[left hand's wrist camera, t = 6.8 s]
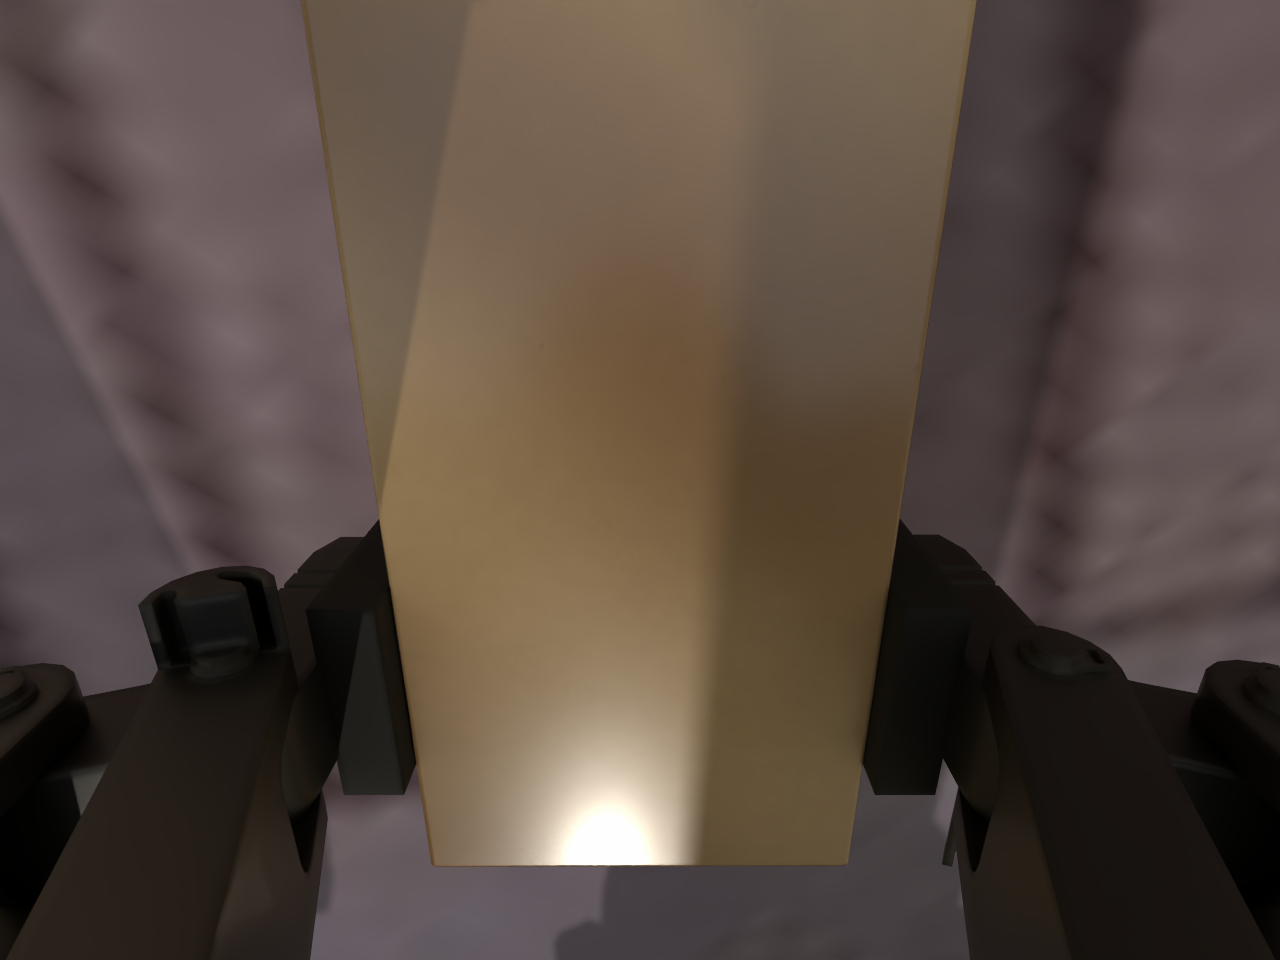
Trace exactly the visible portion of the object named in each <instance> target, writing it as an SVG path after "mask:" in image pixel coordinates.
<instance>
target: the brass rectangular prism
mask: <svg viewBox="0 0 1280 960" xmlns="http://www.w3.org/2000/svg"><path fill="white" fill-rule="evenodd" d="M976 3H977V0H301V6H302V12H303V19H304V25H305V32H306V39H307V45H308V52H309V58H310V65H311V72H312V78H313V85H314V91H315V98H316V105H317V111H318V118H319V124H320V131H321V138H322V144H323V151H324V157H325V164H326V171H327V177H328V184H329V190H330V197H331V204H332V210H333V217H334V223H335V230H336V237H337V243H338V250H339V256H340V263H341V270H342V276H343V283H344V289H345V296H346V303H347V309H348V316H349V322H350V329H351V336H352V342H353V349H354V355H355V362H356V369H357V375H358V382H359V388H360V395H361V402H362V408H363V415H364V421H365V428H366V435H367V441H368V448H369V454H370V461H371V468H372V474H373V481H374V487H375V494H376V501H377V507H378V514H379V520H380V527H381V534H382V540H383V547H384V553H385V560H386V567H387V573H388V580H389V586H390V593H391V600H392V606H393V613H394V619H395V626H396V633H397V639H398V646H399V652H400V659H401V666H402V672H403V679H404V685H405V692H406V699H407V705H408V712H409V718H410V725H411V732H412V738H413V745H414V751H415V758H416V765H417V771H418V778H419V784H420V791H421V798H422V804H423V811H424V817H425V824H426V831H427V837H428V844H429V850H430V857H431V863H432V865H433V866H436V867H554V866H843V865H846V864H847V863H848V859H849V853H850V846H851V839H852V833H853V826H854V819H855V813H856V806H857V799H858V792H859V786H860V779H861V772H862V766H863V759H864V752H865V746H866V739H867V732H868V726H869V719H870V712H871V705H872V699H873V692H874V685H875V679H876V672H877V665H878V659H879V652H880V645H881V638H882V632H883V625H884V618H885V612H886V605H887V598H888V592H889V585H890V578H891V572H892V565H893V558H894V552H895V545H896V538H897V531H898V525H899V518H900V511H901V505H902V498H903V491H904V485H905V478H906V471H907V464H908V458H909V451H910V444H911V438H912V431H913V424H914V418H915V411H916V404H917V398H918V391H919V384H920V377H921V371H922V364H923V357H924V351H925V344H926V337H927V331H928V324H929V317H930V311H931V304H932V297H933V290H934V284H935V277H936V270H937V264H938V257H939V250H940V244H941V237H942V230H943V224H944V217H945V210H946V203H947V197H948V190H949V183H950V177H951V170H952V163H953V157H954V150H955V143H956V137H957V130H958V123H959V116H960V110H961V103H962V96H963V90H964V83H965V76H966V70H967V63H968V56H969V50H970V43H971V36H972V29H973V23H974V16H975V9H976Z"/></svg>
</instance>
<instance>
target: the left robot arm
mask: <svg viewBox="0 0 1280 960" xmlns="http://www.w3.org/2000/svg"><path fill="white" fill-rule="evenodd" d="M138 606H139V609H140V613H141V616H142V619H143V622H144V625H145V629H146V632H147V635H148V638H149V641H150V645H151V648H152V651H153V654H154V657H155V661H156V664H157V667H158V671H157V673H156V675H155V677H154V679H153V681H152V683H150V684H146V685H142V686H137V687H132V688H126V689H121V690H116V691H111V692H105V693H100V694H95V695H90V696H84V697H83V695H82V693H81V690H80V687H79V684H78V682H77V679H76V676H75V674H74V672H73V671H71V670H70V669H68V668H67V667H65V666H63V665H56V664H45V663H40V664H33V665H26V666H13V667H9V668H5V669H1V671H0V960H310V956H311V948H312V940H313V932H314V924H315V916H316V908H317V900H318V892H319V884H320V876H321V868H322V860H323V852H324V845H325V837H326V829H327V821H328V817H327V811H326V805H325V800H324V796H323V791H322V787H323V785H324V783H325V781H326V779H327V778H328V776H329V774H330V772H331V770H332V768H333V766H334V765H335V763H336V761H337V764H338V768H339V773H340V778H341V783H342V788H343V792H344V795H404V793H405V791H406V788H407V786H408V783H409V781H410V778H411V776H412V773H413V771H414V768H415V766H416V758H415V751H414V745H413V738H412V732H411V725H410V718H409V712H408V705H407V699H406V692H405V685H404V679H403V672H402V666H401V659H400V652H399V646H398V639H397V633H396V626H395V619H394V613H393V606H392V600H391V593H390V586H389V580H388V573H387V567H386V560H385V553H384V547H383V540H382V534H381V527H380V520H378V521H377V522H376V523H375V525H374V526H373V527H372V528H371V530H370V531H369V532H368V533H367V534H366V536H365V537H340V538H338V539H336V540H335V541H333V542H331V543H329V544H328V545H326V546H324V547H322V548H321V549H319V550H317V551H315V552H314V553H313V554H312V555H311V556H310V557H309V558H308V559H307V560H306V561H305V562H304V564H303V565H302V566H301V567H300V568H299V569H298V573H294V574H293V575H292V577H291V578H290V579H289V580H288V581H287V582H286V583H285V584H284V588H281V589H280V590H279V591H278V590H277V586H276V581H275V577H274V575H272V574H271V573H269V572H268V571H266V570H265V569H262V568H256V567H250V566H230V567H220V568H215V569H210V570H205V571H200V572H196V573H193V574H190V575H188V576H185V577H182V578H179V579H176V580H173V581H171V582H169V583H168V584H166V585H164V586H162V587H160V588H159V589H157V590H155V591H153V592H151V593H150V594H149V595H148V596H147V597H146V598H145V599H144V600H143V601H142V602H141V603H140V604H139V605H138ZM943 759H944V761H945V763H946V764H947V766H948V768H949V770H950V772H951V774H952V775H953V777H954V779H955V781H956V783H957V785H958V791H957V796H956V800H955V805H954V809H953V814H952V818H951V823H950V827H949V831H948V836H947V840H946V845H945V849H944V855H943V862H942V864H943V865H947V866H951V867H952V864H953V859H954V855H955V852H956V851H957V859H958V866H959V874H960V882H961V890H962V898H963V906H964V914H965V922H966V930H967V938H968V946H969V954H970V960H1280V667H1279V666H1278V665H1274V664H1269V663H1263V662H1262V663H1258V662H1251V661H1243V660H1230V661H1219V662H1216V663H1214V664H1213V665H1211V666H1210V667H1208V668H1207V669H1206V670H1205V673H1204V676H1203V679H1202V681H1201V684H1200V687H1199V690H1198V692H1197V693H1192V692H1186V691H1181V690H1176V689H1170V688H1165V687H1160V686H1154V685H1149V684H1144V683H1139V682H1134V681H1130V680H1128V679H1127V677H1126V676H1125V674H1124V672H1123V670H1122V668H1121V667H1120V666H1119V665H1118V664H1117V662H1116V661H1115V660H1114V659H1113V658H1112V657H1111V655H1110V654H1108V653H1107V652H1105V651H1104V650H1102V649H1100V648H1099V647H1097V646H1096V645H1094V644H1093V643H1091V642H1090V641H1087V640H1085V639H1082V638H1080V637H1078V636H1075V635H1073V634H1070V633H1068V632H1065V631H1061V630H1057V629H1052V628H1048V627H1044V626H1036V625H1035V624H1034V623H1033V622H1032V621H1031V620H1030V619H1029V618H1028V616H1027V615H1026V614H1025V613H1024V612H1023V611H1022V610H1021V609H1020V608H1019V607H1018V606H1017V605H1016V604H1015V602H1014V601H1013V600H1012V599H1011V598H1010V597H1009V596H1008V595H1007V594H1006V593H1005V592H1004V591H1003V590H1002V589H1001V587H1000V586H996V585H995V581H994V580H993V579H992V578H991V577H990V576H989V575H988V573H987V572H986V571H982V567H981V566H980V565H979V564H978V563H977V562H976V561H975V559H974V558H973V557H972V556H971V555H970V554H969V553H968V552H967V551H966V550H965V549H963V548H961V547H960V546H958V545H956V544H954V543H953V542H951V541H949V540H947V539H945V538H944V537H942V536H940V535H913V534H912V533H911V532H910V531H909V530H908V528H907V527H906V526H905V525H904V523H903V522H902V521H901V520H900V518H899V525H898V531H897V538H896V545H895V552H894V558H893V565H892V572H891V578H890V585H889V592H888V598H887V605H886V612H885V618H884V625H883V632H882V638H881V645H880V652H879V659H878V665H877V672H876V679H875V685H874V692H873V699H872V705H871V712H870V719H869V726H868V732H867V739H866V746H865V752H864V759H863V765H864V768H865V770H866V773H867V775H868V778H869V780H870V783H871V785H872V788H873V791H874V793H875V795H935V793H936V788H937V784H938V779H939V774H940V769H941V764H942V760H943Z"/></svg>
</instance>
